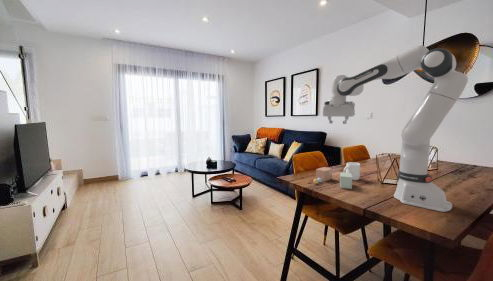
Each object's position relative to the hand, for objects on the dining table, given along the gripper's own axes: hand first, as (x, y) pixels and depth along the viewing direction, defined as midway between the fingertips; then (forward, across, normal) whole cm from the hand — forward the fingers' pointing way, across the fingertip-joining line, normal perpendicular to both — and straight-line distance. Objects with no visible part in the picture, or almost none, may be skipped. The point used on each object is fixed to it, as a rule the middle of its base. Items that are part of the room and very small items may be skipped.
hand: (337, 123), depth 139 cm
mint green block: (+37, -11, +8) cm, 40 cm away
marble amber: (+37, +3, +18) cm, 41 cm away
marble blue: (+37, +3, +14) cm, 40 cm away
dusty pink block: (+37, +5, +6) cm, 38 cm away
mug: (+37, -6, -8) cm, 39 cm away
